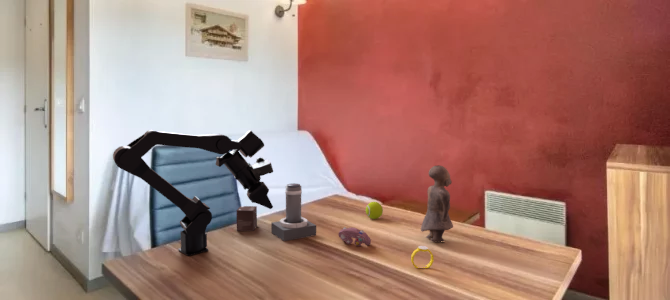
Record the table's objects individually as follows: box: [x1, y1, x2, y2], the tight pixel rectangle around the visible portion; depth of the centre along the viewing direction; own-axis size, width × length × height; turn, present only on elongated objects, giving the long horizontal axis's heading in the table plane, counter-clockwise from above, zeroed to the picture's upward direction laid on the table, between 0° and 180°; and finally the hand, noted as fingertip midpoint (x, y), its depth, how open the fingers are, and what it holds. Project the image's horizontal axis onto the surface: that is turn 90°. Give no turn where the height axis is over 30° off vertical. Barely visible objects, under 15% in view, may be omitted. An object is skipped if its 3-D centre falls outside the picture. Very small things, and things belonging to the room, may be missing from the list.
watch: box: [410, 245, 435, 269], centre depth 110 cm, size 6×3×6 cm, turn 96°
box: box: [236, 205, 258, 232], centre depth 142 cm, size 6×6×7 cm
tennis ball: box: [365, 201, 384, 220], centre depth 157 cm, size 7×7×7 cm
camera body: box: [270, 216, 317, 242], centre depth 136 cm, size 12×10×5 cm
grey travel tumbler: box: [284, 183, 303, 223], centre depth 135 cm, size 5×5×14 cm
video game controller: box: [337, 226, 372, 247], centre depth 127 cm, size 10×5×7 cm
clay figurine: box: [420, 165, 454, 243], centre depth 131 cm, size 13×10×25 cm
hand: (268, 202), depth 131 cm, fingers open, 9 cm apart
